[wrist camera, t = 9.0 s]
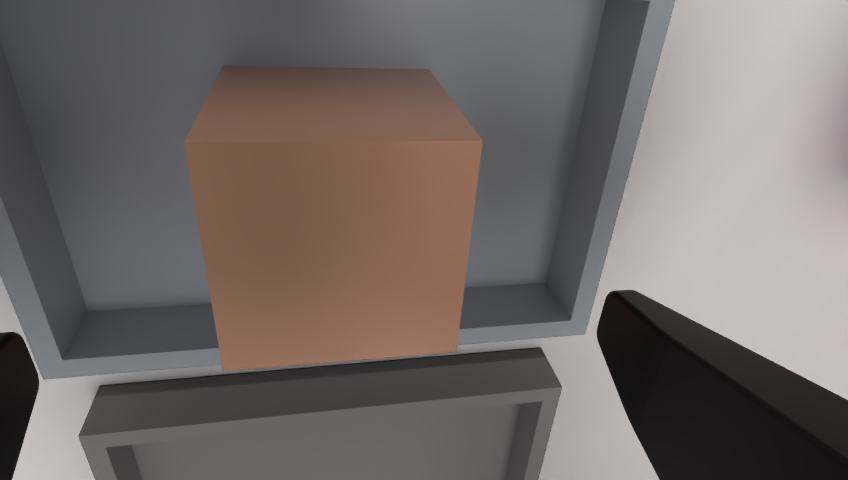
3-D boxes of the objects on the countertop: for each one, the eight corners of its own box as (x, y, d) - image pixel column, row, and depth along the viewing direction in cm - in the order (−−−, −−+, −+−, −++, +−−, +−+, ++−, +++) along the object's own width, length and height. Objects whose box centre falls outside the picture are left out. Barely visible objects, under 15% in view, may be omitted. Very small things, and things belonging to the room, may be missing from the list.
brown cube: (429, 69, 14) (482, 140, 10) (418, 238, 17) (456, 351, 12) (222, 65, 13) (183, 142, 9) (244, 245, 16) (223, 371, 11)
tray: (626, -39, 14) (682, -29, 12) (554, 287, 19) (585, 334, 17) (-58, -75, 11) (-141, -71, 9) (76, 318, 16) (43, 379, 14)
